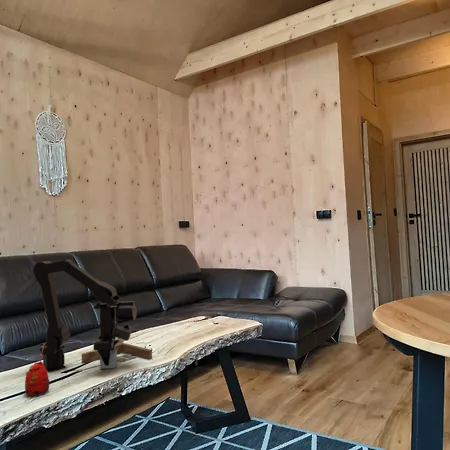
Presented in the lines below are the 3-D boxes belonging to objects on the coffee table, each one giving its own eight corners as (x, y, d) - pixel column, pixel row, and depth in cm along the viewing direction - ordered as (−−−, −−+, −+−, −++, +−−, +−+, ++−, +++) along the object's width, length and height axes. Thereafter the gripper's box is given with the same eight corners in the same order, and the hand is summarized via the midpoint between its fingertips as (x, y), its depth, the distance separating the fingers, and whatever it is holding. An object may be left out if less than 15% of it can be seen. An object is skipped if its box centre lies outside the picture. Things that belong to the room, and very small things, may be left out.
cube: (114, 367, 150) (113, 353, 150) (100, 368, 150) (99, 354, 150) (116, 363, 155) (116, 350, 155) (103, 364, 155) (103, 350, 155)
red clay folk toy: (23, 391, 130) (22, 343, 131) (47, 386, 134) (46, 340, 134) (26, 399, 124) (25, 348, 124) (51, 394, 127) (50, 344, 128)
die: (114, 351, 177) (127, 331, 180) (98, 341, 178) (111, 321, 182) (119, 353, 184) (131, 334, 187) (103, 343, 186) (115, 324, 189)
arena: (109, 371, 147) (109, 361, 147) (81, 362, 159) (81, 353, 159) (152, 358, 161) (151, 349, 162) (123, 351, 174) (123, 342, 174)
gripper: (125, 324, 144) (126, 370, 144) (133, 314, 163) (134, 355, 163) (92, 326, 144) (93, 371, 143) (104, 316, 162) (105, 356, 162)
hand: (108, 363), depth 153 cm, fingers closed on cube, 5 cm apart
